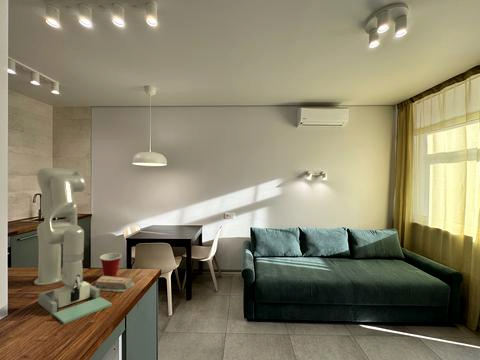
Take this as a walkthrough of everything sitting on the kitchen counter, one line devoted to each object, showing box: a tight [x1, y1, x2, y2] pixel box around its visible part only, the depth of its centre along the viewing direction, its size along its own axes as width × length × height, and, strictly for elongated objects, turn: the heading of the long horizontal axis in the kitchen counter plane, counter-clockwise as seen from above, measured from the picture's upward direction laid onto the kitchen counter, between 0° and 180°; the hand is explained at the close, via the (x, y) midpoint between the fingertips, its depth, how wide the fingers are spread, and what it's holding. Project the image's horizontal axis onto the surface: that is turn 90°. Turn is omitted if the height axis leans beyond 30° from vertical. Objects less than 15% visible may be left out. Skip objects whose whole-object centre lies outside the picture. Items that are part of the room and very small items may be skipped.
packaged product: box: [93, 275, 135, 294], centre depth 127 cm, size 18×5×10 cm
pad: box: [53, 296, 113, 325], centre depth 104 cm, size 10×18×1 cm, turn 145°
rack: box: [37, 280, 101, 315], centre depth 112 cm, size 16×18×4 cm
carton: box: [53, 280, 91, 309], centre depth 111 cm, size 5×12×6 cm, turn 144°
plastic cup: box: [99, 252, 123, 277], centre depth 140 cm, size 11×11×12 cm
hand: (72, 298), depth 111 cm, fingers closed on carton, 5 cm apart
